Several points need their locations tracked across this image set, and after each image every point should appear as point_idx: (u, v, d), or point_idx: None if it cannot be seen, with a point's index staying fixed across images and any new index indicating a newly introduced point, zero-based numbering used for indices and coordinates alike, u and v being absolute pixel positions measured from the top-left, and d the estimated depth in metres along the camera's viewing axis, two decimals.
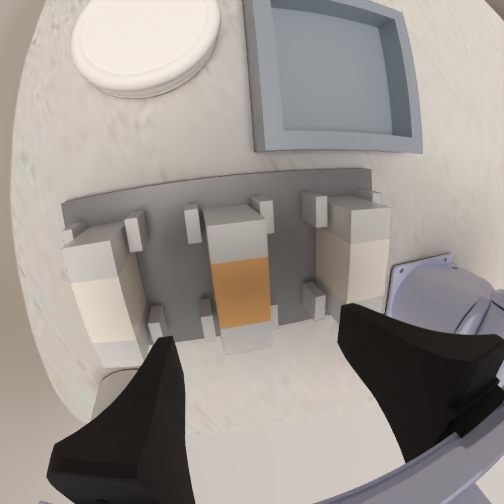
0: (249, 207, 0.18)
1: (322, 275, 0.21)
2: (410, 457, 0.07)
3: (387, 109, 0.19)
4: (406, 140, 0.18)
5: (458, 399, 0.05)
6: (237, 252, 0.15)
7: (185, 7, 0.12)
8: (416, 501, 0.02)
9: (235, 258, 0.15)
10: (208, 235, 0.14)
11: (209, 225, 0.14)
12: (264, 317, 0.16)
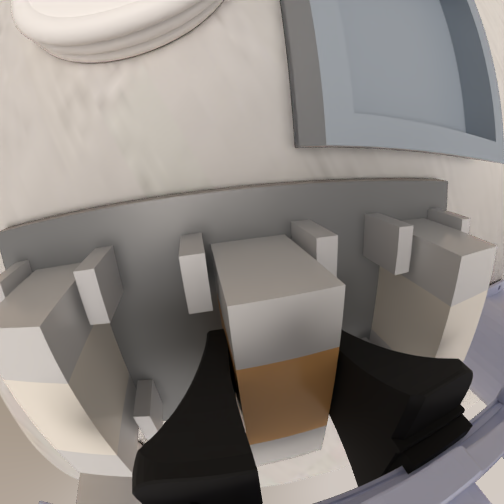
0: (293, 243, 0.10)
1: (384, 333, 0.13)
2: (361, 482, 0.06)
3: (460, 101, 0.12)
4: (491, 145, 0.10)
5: (404, 433, 0.05)
6: (287, 347, 0.07)
7: None
8: (416, 501, 0.02)
9: (282, 357, 0.07)
10: (231, 322, 0.07)
11: (233, 302, 0.07)
12: (317, 423, 0.09)
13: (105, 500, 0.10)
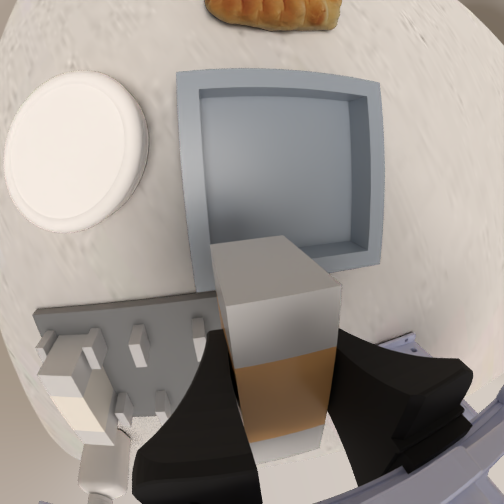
0: (291, 244, 0.10)
1: None
2: (361, 482, 0.06)
3: (347, 209, 0.20)
4: (360, 255, 0.19)
5: (403, 433, 0.05)
6: (285, 346, 0.07)
7: (102, 129, 0.13)
8: (416, 501, 0.02)
9: (280, 356, 0.07)
10: (229, 322, 0.07)
11: (231, 302, 0.07)
12: (315, 422, 0.09)
13: (98, 466, 0.18)
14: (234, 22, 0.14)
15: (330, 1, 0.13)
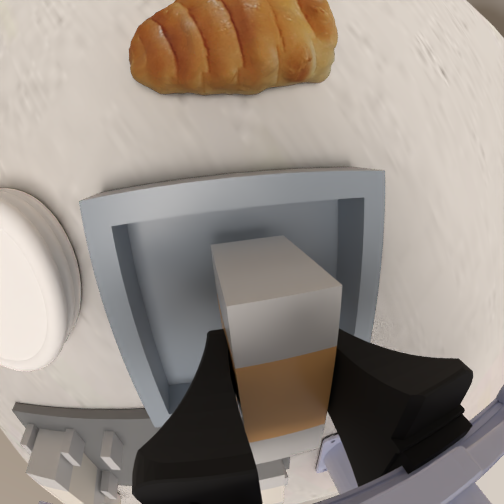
0: (291, 244, 0.11)
1: None
2: (361, 482, 0.06)
3: None
4: None
5: (403, 433, 0.05)
6: (285, 346, 0.07)
7: (17, 279, 0.09)
8: (416, 501, 0.02)
9: (280, 356, 0.07)
10: (230, 322, 0.07)
11: (232, 302, 0.07)
12: (316, 422, 0.09)
13: None
14: (170, 92, 0.11)
15: (319, 40, 0.09)
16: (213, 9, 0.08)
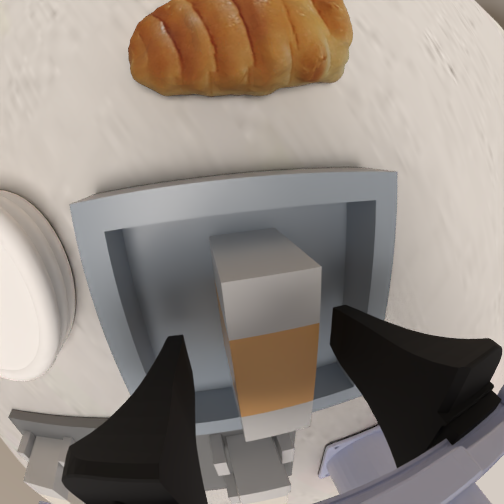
0: (281, 235, 0.12)
1: None
2: (401, 462, 0.07)
3: None
4: (343, 393, 0.14)
5: (449, 405, 0.05)
6: (272, 321, 0.09)
7: (7, 287, 0.08)
8: (416, 501, 0.02)
9: (269, 329, 0.09)
10: (224, 297, 0.08)
11: (226, 279, 0.08)
12: (304, 398, 0.10)
13: None
14: (174, 93, 0.10)
15: (334, 38, 0.08)
16: (220, 3, 0.07)
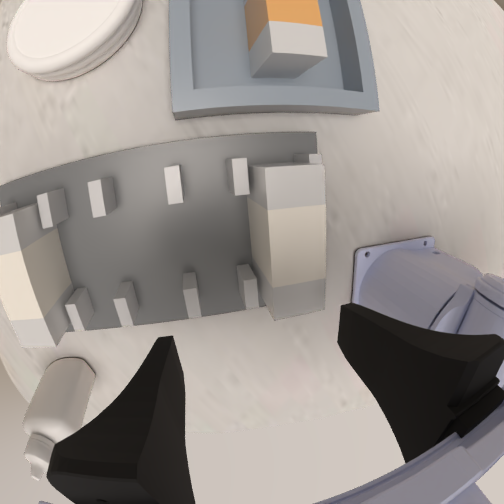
0: None
1: (255, 255, 0.18)
2: (410, 457, 0.07)
3: (336, 67, 0.17)
4: (355, 95, 0.15)
5: (458, 399, 0.05)
6: None
7: None
8: (416, 501, 0.02)
9: None
10: None
11: None
12: (315, 21, 0.11)
13: (46, 398, 0.14)
14: None
15: None
16: None
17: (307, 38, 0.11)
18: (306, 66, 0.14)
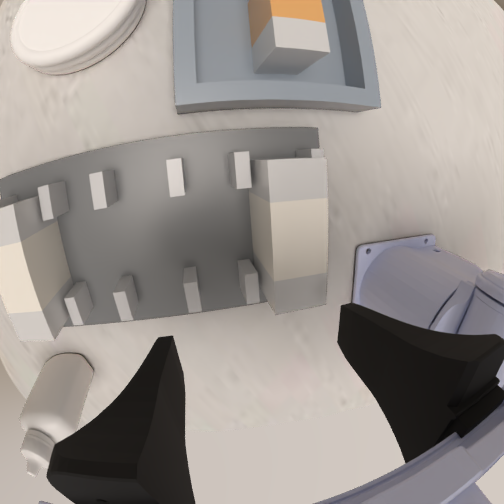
0: None
1: (256, 250, 0.18)
2: (410, 457, 0.07)
3: (338, 64, 0.16)
4: (357, 91, 0.15)
5: (458, 399, 0.05)
6: None
7: None
8: (416, 501, 0.02)
9: None
10: None
11: None
12: (318, 17, 0.11)
13: (44, 394, 0.14)
14: None
15: None
16: None
17: (310, 34, 0.11)
18: (309, 62, 0.13)
